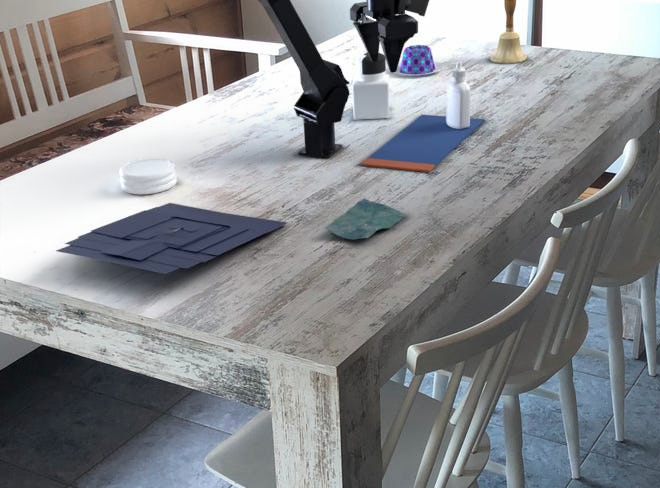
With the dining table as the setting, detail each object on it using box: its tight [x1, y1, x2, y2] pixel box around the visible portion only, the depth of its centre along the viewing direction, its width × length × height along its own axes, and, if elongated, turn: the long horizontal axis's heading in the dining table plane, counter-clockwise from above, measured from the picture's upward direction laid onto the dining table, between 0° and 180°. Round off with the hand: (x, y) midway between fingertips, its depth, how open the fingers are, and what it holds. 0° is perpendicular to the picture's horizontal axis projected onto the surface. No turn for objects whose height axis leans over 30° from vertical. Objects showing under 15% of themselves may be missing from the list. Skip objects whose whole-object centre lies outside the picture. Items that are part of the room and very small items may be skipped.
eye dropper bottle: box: [445, 61, 471, 129], centre depth 198 cm, size 4×6×12 cm
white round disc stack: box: [118, 157, 178, 195], centre depth 186 cm, size 10×10×4 cm
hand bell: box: [489, 0, 528, 65], centre depth 236 cm, size 8×8×16 cm
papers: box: [55, 202, 289, 275], centre depth 160 cm, size 24×30×4 cm
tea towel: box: [360, 114, 485, 173], centre depth 195 cm, size 30×13×1 cm, turn 152°
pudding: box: [394, 44, 445, 77], centre depth 236 cm, size 12×12×5 cm
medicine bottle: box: [352, 51, 390, 121], centre depth 209 cm, size 7×7×12 cm
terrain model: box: [324, 198, 407, 240], centre depth 162 cm, size 13×8×2 cm, turn 146°
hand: (383, 66), depth 193 cm, fingers open, 9 cm apart
